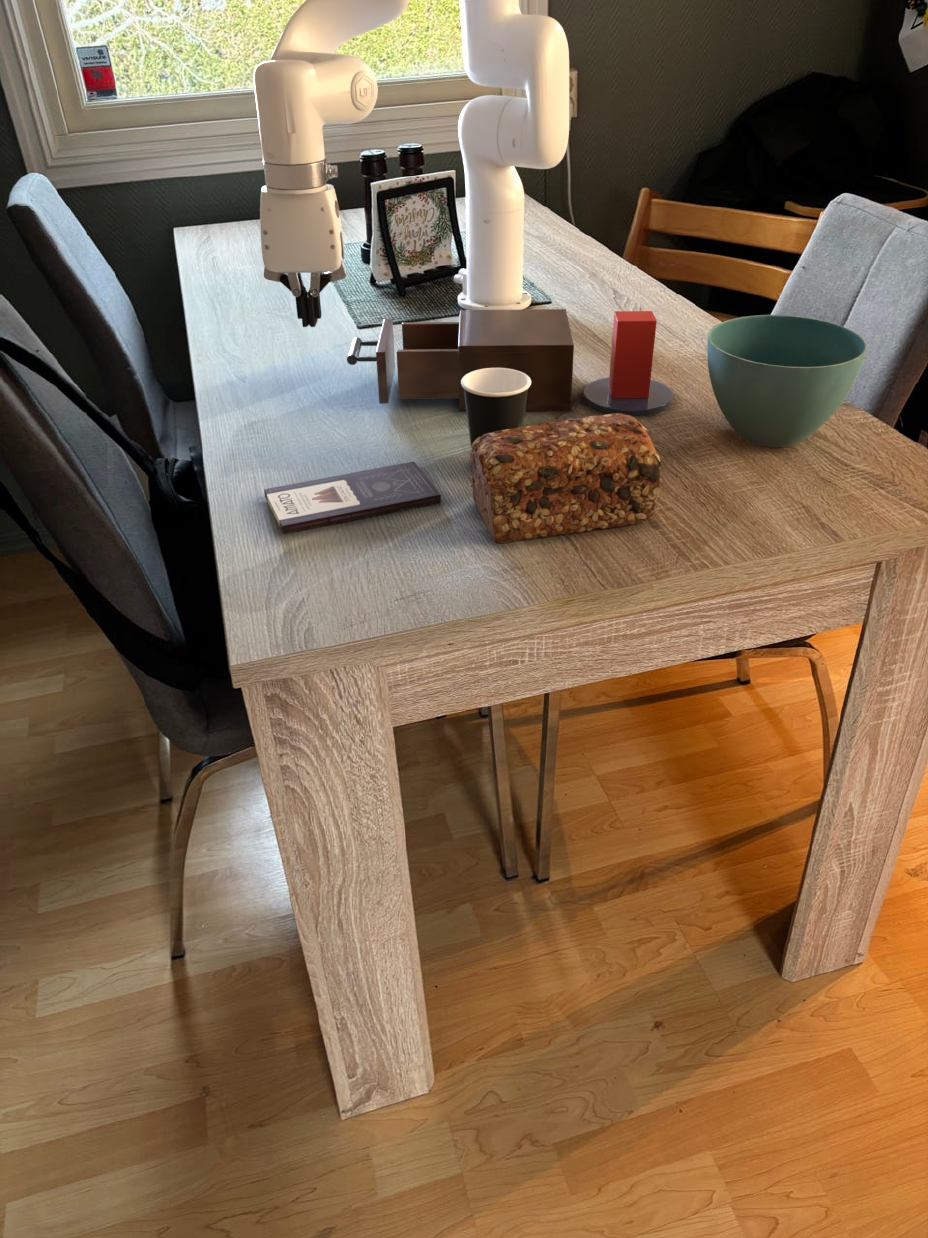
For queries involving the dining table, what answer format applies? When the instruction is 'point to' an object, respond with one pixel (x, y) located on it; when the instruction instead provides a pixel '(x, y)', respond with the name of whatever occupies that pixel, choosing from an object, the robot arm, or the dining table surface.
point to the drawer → (415, 360)
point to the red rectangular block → (632, 354)
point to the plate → (627, 399)
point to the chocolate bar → (350, 496)
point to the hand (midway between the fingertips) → (310, 323)
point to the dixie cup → (495, 400)
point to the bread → (565, 477)
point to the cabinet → (521, 351)
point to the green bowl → (781, 374)
